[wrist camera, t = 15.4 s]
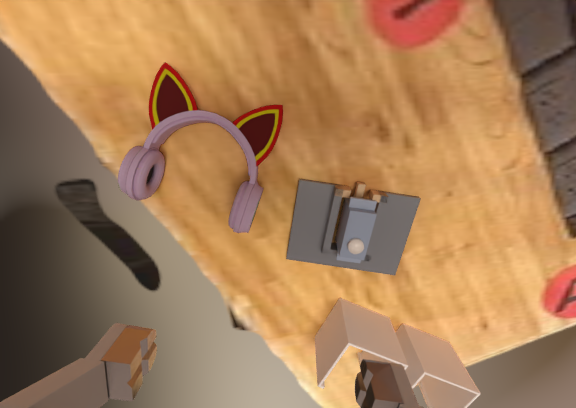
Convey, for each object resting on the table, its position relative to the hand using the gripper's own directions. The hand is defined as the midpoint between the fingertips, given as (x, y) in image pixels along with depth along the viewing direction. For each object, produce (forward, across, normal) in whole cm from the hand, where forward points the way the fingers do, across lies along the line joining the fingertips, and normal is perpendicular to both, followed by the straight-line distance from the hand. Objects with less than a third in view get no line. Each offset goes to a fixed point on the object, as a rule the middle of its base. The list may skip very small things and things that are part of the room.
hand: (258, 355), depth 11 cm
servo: (+37, -12, +9) cm, 40 cm away
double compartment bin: (+38, -24, +34) cm, 56 cm away
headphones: (+38, +13, 0) cm, 40 cm away
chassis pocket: (+37, -12, +11) cm, 40 cm away
